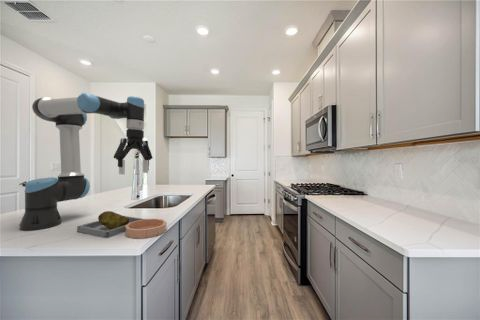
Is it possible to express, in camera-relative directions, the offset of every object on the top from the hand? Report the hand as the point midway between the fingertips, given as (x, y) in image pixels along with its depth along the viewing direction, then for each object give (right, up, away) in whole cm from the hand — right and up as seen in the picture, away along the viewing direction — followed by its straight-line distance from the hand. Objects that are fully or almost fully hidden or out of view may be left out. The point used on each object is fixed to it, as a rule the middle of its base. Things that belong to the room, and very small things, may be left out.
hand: (134, 173), depth 102 cm
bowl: (+8, -27, -4) cm, 28 cm away
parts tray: (-11, -27, +1) cm, 29 cm away
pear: (-11, -27, +1) cm, 29 cm away
